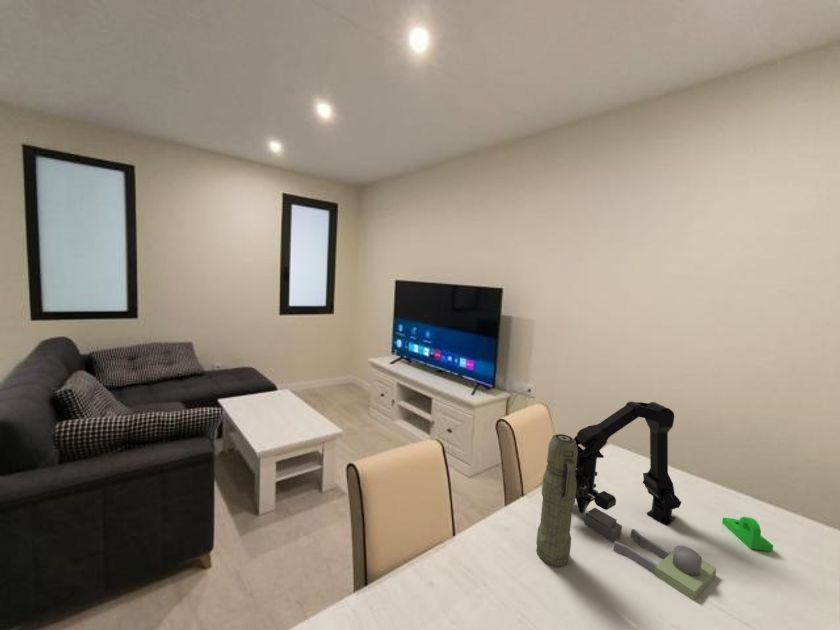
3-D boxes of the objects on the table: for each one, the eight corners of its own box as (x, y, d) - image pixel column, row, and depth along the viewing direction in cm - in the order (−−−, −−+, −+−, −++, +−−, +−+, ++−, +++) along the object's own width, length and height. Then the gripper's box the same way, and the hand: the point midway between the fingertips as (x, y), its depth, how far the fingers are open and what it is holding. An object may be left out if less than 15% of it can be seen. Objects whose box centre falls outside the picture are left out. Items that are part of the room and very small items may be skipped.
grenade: (549, 574, 94) (562, 448, 91) (527, 542, 106) (538, 429, 103) (579, 571, 96) (592, 447, 93) (554, 539, 107) (565, 428, 104)
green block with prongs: (638, 531, 114) (640, 512, 113) (715, 576, 97) (718, 554, 97) (611, 549, 105) (614, 529, 104) (692, 602, 88) (695, 578, 88)
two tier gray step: (592, 520, 118) (594, 506, 117) (620, 537, 111) (622, 522, 110) (584, 526, 115) (586, 511, 114) (612, 543, 108) (614, 527, 107)
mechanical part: (772, 551, 109) (776, 527, 108) (751, 548, 109) (755, 524, 108) (740, 525, 121) (744, 502, 120) (722, 522, 121) (725, 500, 120)
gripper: (546, 461, 121) (542, 504, 123) (599, 489, 106) (594, 538, 107) (566, 454, 127) (562, 495, 129) (619, 479, 112) (614, 526, 113)
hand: (581, 512), depth 119 cm, fingers closed
